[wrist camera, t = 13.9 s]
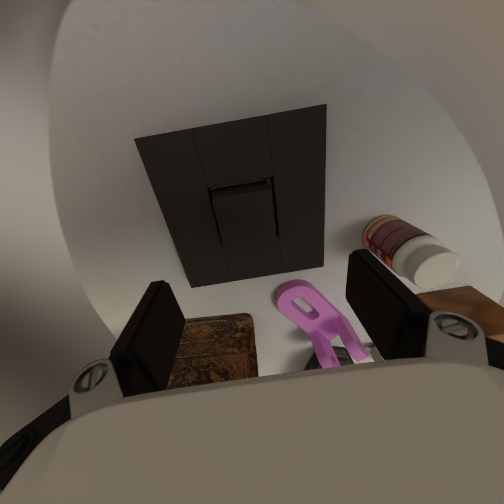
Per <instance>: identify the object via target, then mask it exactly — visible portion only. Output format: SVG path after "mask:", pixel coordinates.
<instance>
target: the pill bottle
mask: <svg viewBox="0 0 504 504" xmlns="http://www.w3.org/2000/svg"><path fill="white" fill-rule="evenodd" d="M363 242H364V244H365V246H366V247H367V248H368V249H369V250H370V251H371V252H373V253H374V254H375V255H376V256H377V257H378V258H379V259H380V260H381V261H383V262H384V263H385V264H386V265H387V266H388V267H390V268H391V269H392V270H393V271H394V272H395V273H396V274H398V275H399V276H401V277H405V278H408V279H409V280H410V281H411V282H412V283H414V284H415V285H416V286H418V287H420V288H423V289H430V288H435V287H438V286H440V285H442V284H444V283H446V282H447V281H448V280H450V279H451V278H452V277H453V276H454V275H455V273H456V272H457V271H458V269H459V266H460V259H459V257H458V256H457V255H456V254H455V253H453V252H452V251H450V250H448V249H447V248H445V247H443V244H442V243H441V241H440V240H438V239H437V238H435V237H433V236H432V235H430V234H428V233H426V232H424V231H422V230H420V229H418V228H416V227H415V226H413V225H411V224H409V223H407V222H405V221H403V220H401V219H400V218H398V217H396V216H392V215H385V216H381V217H379V218H377V219H375V220H374V221H372V222H371V223H370V224H369V225H368V226H367V228H366V229H365V231H364V235H363Z"/></svg>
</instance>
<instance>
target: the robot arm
mask: <svg viewBox="0 0 504 504" xmlns="http://www.w3.org/2000/svg"><path fill="white" fill-rule="evenodd" d="M346 299H347V301H348V303H349V305H350V306H351V308H352V309H353V311H354V313H355V314H356V316H357V317H358V319H359V321H360V322H361V324H362V325H363V327H364V329H365V330H366V332H367V333H368V335H369V337H370V338H371V340H372V341H373V343H374V345H375V346H376V348H377V350H378V351H379V353H380V354H381V356H382V357H383V359H384V360H385V361H377V362H368V363H359V364H352V365H344V366H336V367H329V368H321V369H313V370H306V371H298V372H291V373H284V374H276V375H269V376H261V377H254V378H247V379H240V380H232V381H225V382H218V383H211V384H204V385H197V386H190V387H183V388H176V389H170V390H166V388H167V386H168V382H169V379H170V375H171V372H172V368H173V365H174V361H175V358H176V354H177V351H178V347H179V344H180V340H181V337H182V333H183V330H184V326H185V318H184V316H183V314H182V311H181V309H180V307H179V305H178V303H177V300H176V298H175V296H174V294H173V291H172V289H171V287H170V285H169V283H167V282H165V281H164V280H161V281H155V282H151V283H150V285H149V287H148V288H147V290H146V292H145V294H144V295H143V297H142V299H141V300H140V302H139V304H138V305H137V307H136V309H135V311H134V312H133V314H132V316H131V317H130V319H129V321H128V323H127V324H126V326H125V328H124V329H123V331H122V333H121V334H120V336H119V338H118V340H117V341H116V343H115V345H114V347H113V348H112V350H111V352H110V353H111V354H110V356H109V358H108V359H99V360H96V361H94V362H92V363H90V364H88V365H87V366H86V367H84V368H83V369H82V370H81V371H80V372H79V373H78V374H77V375H76V376H75V377H74V379H73V380H72V382H71V384H70V386H69V395H67V396H66V397H65V398H63V399H62V400H61V401H59V402H58V403H56V404H55V405H54V406H52V407H51V408H49V409H48V410H47V411H45V412H44V413H43V414H41V415H40V416H39V417H37V418H36V419H34V420H33V421H32V422H31V423H29V424H28V425H26V426H25V427H24V428H22V429H21V430H20V431H18V432H17V433H15V434H14V435H13V436H12V437H10V438H9V439H8V440H7V441H6V442H5V443H3V445H2V446H1V447H0V504H504V343H503V342H500V341H497V340H494V339H491V338H488V337H485V335H484V332H483V330H482V328H481V327H480V326H479V325H478V324H477V323H476V322H474V321H473V320H472V319H470V318H468V317H466V316H464V315H462V314H459V313H456V312H453V311H448V310H439V311H434V312H433V311H432V310H431V309H430V308H429V307H428V306H427V305H425V304H424V303H423V302H422V301H421V300H420V299H419V298H418V297H417V296H416V295H415V294H414V293H413V292H412V291H411V290H410V289H409V288H408V287H406V286H405V285H404V284H403V283H402V282H401V281H400V280H399V279H398V278H397V277H396V276H395V275H394V274H393V273H392V272H391V271H390V270H388V269H387V268H386V267H385V266H384V265H383V264H382V263H381V262H380V261H379V260H378V259H377V258H376V257H375V256H374V255H373V254H372V253H371V252H369V251H368V250H367V249H359V250H354V251H353V252H352V254H350V255H349V261H348V272H347V283H346Z"/></svg>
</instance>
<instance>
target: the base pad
mask: <svg viewBox="0 0 504 504" xmlns="http://www.w3.org/2000/svg"><path fill="white" fill-rule="evenodd" d="M326 111H327V104H323V105H318V106H312V107H307V108H301V109H296V110H290V111H285V112H279V113H274V114H268V115H263V116H257V117H252V118H246V119H241V120H235V121H230V122H224V123H219V124H213V125H208V126H202V127H197V128H192V129H186V130H180V131H174V132H169V133H163V134H158V135H152V136H147V137H141V138H136V139H134V141H135V143H136V146H137V148H138V151H139V154H140V156H141V159H142V161H143V164H144V167H145V169H146V172H147V174H148V177H149V179H150V182H151V185H152V187H153V190H154V192H155V195H156V198H157V200H158V203H159V205H160V208H161V211H162V213H163V216H164V218H165V221H166V224H167V226H168V229H169V231H170V234H171V236H172V239H173V242H174V244H175V247H176V249H177V252H178V255H179V257H180V260H181V262H182V265H183V268H184V270H185V273H186V275H187V278H188V281H189V283H190V286H191V288H194V287H201V286H207V285H213V284H219V283H225V282H231V281H237V280H244V279H250V278H256V277H262V276H268V275H274V274H280V273H287V272H293V271H299V270H305V269H311V268H317V267H323V266H324V219H325V165H326ZM268 177H271V183H272V193H273V202H274V211H275V221H276V237H277V243H271V244H264V245H258V246H252V247H246V248H240V249H234V250H228V251H224V247H223V243H222V239H221V235H220V231H219V227H218V223H217V219H216V215H215V211H214V207H213V203H212V197H213V196H212V192H211V188H210V187H216V186H222V185H228V184H233V183H239V182H245V181H251V180H256V179H262V178H268Z"/></svg>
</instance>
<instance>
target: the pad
mask: <svg viewBox="0 0 504 504" xmlns="http://www.w3.org/2000/svg"><path fill="white" fill-rule="evenodd" d="M212 203H213V207H214V211H215V215H216V219H217V223H218V227H219V231H220V235H221V239H222V243H223V247H224V251H228V250H234V249H240V248H246V247H252V246H258V245H264V244H271V243H277V237H276V227H275V218H274V208H273V199H272V189H271V188H270V186H269V184H268V183H267V181H266V180H264V181H258V182H252V183H246V184H240V185H234V186H229V187H223V188H217V189H215V191H214V194H213V197H212Z"/></svg>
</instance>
